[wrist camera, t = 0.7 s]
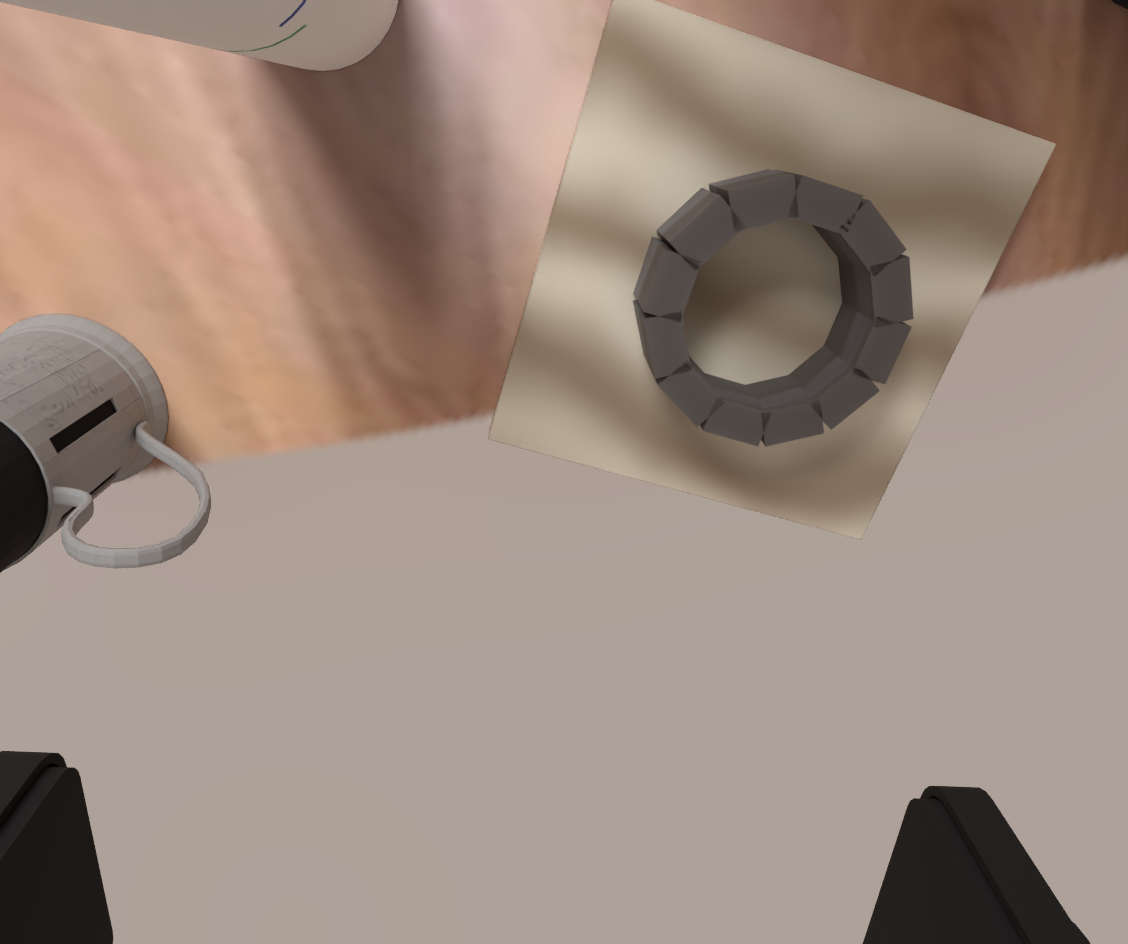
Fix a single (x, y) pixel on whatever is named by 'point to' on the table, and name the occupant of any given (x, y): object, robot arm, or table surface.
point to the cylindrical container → (247, 25)
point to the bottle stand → (755, 270)
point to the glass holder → (79, 437)
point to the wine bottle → (1122, 3)
